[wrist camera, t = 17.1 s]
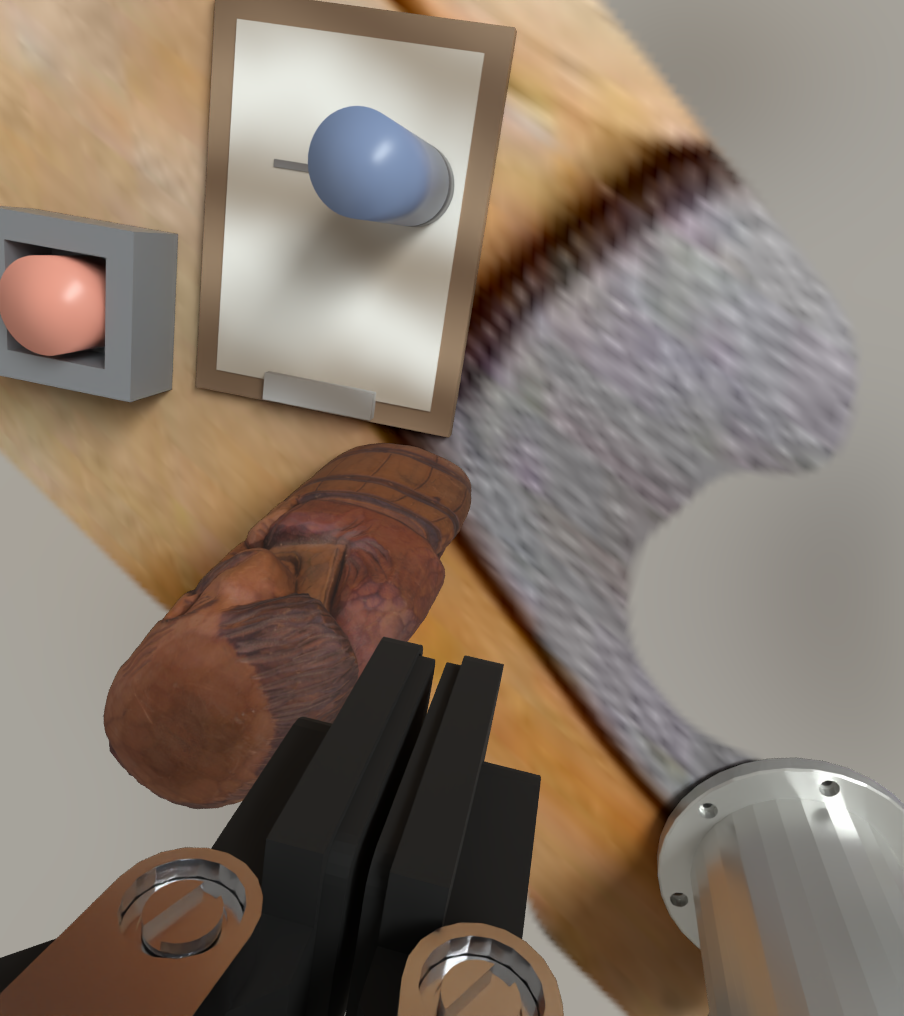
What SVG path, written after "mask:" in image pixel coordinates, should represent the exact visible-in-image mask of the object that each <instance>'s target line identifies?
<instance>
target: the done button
mask: <svg viewBox="0 0 904 1016" xmlns="http://www.w3.org/2000/svg"><path fill="white" fill-rule="evenodd" d="M105 302H106V260H104V259H102V258H99V257H96V256H89V255H32V256H25V257H22V258H19V259H17V260H16V261H14V262H13V263H11V264H10V265H9V266H8V267H7V269H6V270H5V272H4V273H3V275H2V277H1V279H0V314H1V317H2V319H3V322H4V324H5V326H6V328H7V329H8V331H9V332H10V334H11V335H12V336H13V337H14V338H15V340H16V341H18V342H19V343H20V344H21V345H22V346H24V347H25V348H27V349H28V350H30V351H32V352H34V353H37V354H41V355H46V356H54V355H60V354H66V353H71V352H77V351H82V350H88V349H93V348H99V347H104V346H105Z"/></svg>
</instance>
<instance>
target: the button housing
mask: <svg viewBox="0 0 904 1016" xmlns="http://www.w3.org/2000/svg"><path fill="white" fill-rule="evenodd" d="M177 247H178V234H175V233H169V232H164V231H158V230H152V229H146V228H141V227H135V226H129V225H124V224H118V223H112V222H107V221H101V220H95V219H90V218H84V217H78V216H73V215H67V214H61V213H56V212H50V211H44V210H39V209H31V208H19V207H7V206H0V279H1V277H2V275H3V273H4V272H5V270H6V269H7V267H8V266H9V265H10V264H11V263H13V262H14V261H16V260H17V259H19V258H22V257H25V256H32V255H89V256H96V257H99V258H102V259H104V260H106V302H105V346H104V347H99V348H93V349H88V350H82V351H77V352H71V353H66V354H60V355H54V356H46V355H41V354H37V353H34V352H32V351H30V350H28V349H27V348H25V347H24V346H22V345H21V344H20V343H19V342H18V341H16V340H15V338H14V337H13V336H12V335H11V334H10V332H9V331H8V329H7V328H6V326H5V324H4V322H3V319H2V317H1V314H0V376H5V377H10V378H15V379H19V380H24V381H29V382H34V383H39V384H44V385H49V386H54V387H58V388H63V389H68V390H73V391H78V392H83V393H88V394H93V395H97V396H102V397H107V398H112V399H117V400H122V401H127V402H132V401H135V400H139V399H142V398H145V397H148V396H152V395H155V394H158V393H161V392H165V391H168V390H171V389H172V372H173V347H174V322H175V297H176V272H177Z"/></svg>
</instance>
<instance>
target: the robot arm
mask: <svg viewBox="0 0 904 1016" xmlns="http://www.w3.org/2000/svg"><path fill="white" fill-rule="evenodd" d="M422 654H423V646H422V645H418V644H414V643H410V642H406V641H401V640H397V639H393V638H388V637H383V638H382V639H381V640H380V642H379V644H378V646H377V647H376V649H375V651H374V653H373V654H372V656H371V658H370V659H369V661H368V663H367V665H366V666H365V668H364V670H363V672H362V673H361V675H360V677H359V679H358V680H357V682H356V684H355V685H354V687H353V689H352V691H351V692H350V694H349V696H348V698H347V699H346V701H345V703H344V705H343V706H342V708H341V710H340V712H339V713H338V715H337V717H336V718H335V720H334V722H333V724H332V723H328V722H324V721H320V720H316V719H312V718H308V717H304V716H302V717H300V718H298V719H297V720H296V722H295V723H294V724H293V725H292V727H291V728H290V730H289V731H288V733H287V734H286V736H285V737H284V739H283V741H282V742H281V744H280V745H279V747H278V748H277V750H276V751H275V753H274V754H273V756H272V757H271V759H270V760H269V762H268V763H267V765H266V766H265V768H264V769H263V771H262V772H261V774H260V775H259V777H258V778H257V780H256V781H255V783H254V784H253V786H252V788H251V789H250V791H249V792H248V794H247V795H246V797H245V798H244V800H243V801H242V803H241V804H240V806H239V807H238V809H237V810H236V812H235V813H234V815H233V816H232V818H231V819H230V821H229V822H228V824H227V826H226V827H225V828H224V830H223V831H222V833H221V834H220V836H219V838H218V839H217V841H216V842H215V844H214V845H213V847H212V848H211V849H210V848H193V847H185V848H179V849H175V850H169V851H164V852H160V853H158V854H156V855H154V856H151V857H149V858H147V859H145V860H142V861H140V862H138V863H137V864H136V865H134V866H133V867H132V868H130V869H129V870H128V871H126V872H125V873H124V874H122V875H121V876H120V877H119V878H118V879H117V880H116V881H115V882H114V883H112V885H111V886H109V887H108V888H107V889H106V890H105V891H104V892H103V893H102V894H101V895H100V896H99V897H98V898H97V899H96V900H95V901H94V902H93V903H92V904H91V905H90V906H89V907H88V908H87V909H86V910H85V911H84V912H83V913H82V914H81V915H80V916H79V917H78V918H77V919H76V920H75V921H74V922H73V923H72V924H71V925H70V926H69V927H68V928H67V929H66V930H65V931H64V932H63V933H62V934H61V935H60V936H59V937H57V938H56V939H54V940H51V941H48V942H45V943H42V944H39V945H36V946H33V947H31V948H28V949H25V950H22V951H19V952H16V953H13V954H10V955H7V956H5V957H2V958H0V1016H344V1015H345V1012H346V1015H345V1016H564V1013H563V1004H562V999H561V996H560V992H559V988H558V985H557V981H556V978H555V977H554V975H553V974H552V972H551V970H550V969H549V967H548V965H547V964H546V962H545V960H544V959H543V958H542V957H541V956H540V955H539V954H538V953H537V952H536V951H535V950H534V949H533V948H532V947H531V946H530V945H529V944H528V943H527V942H526V941H524V940H522V935H523V927H524V918H525V910H526V902H527V893H528V885H529V876H530V868H531V859H532V850H533V842H534V833H535V825H536V816H537V808H538V799H539V791H540V781H541V777H540V775H536V774H532V773H528V772H524V771H520V770H516V769H512V768H508V767H504V766H500V765H496V764H492V763H488V762H484V759H485V754H486V749H487V745H488V740H489V735H490V730H491V725H492V720H493V715H494V711H495V706H496V701H497V696H498V691H499V686H500V681H501V677H502V672H503V666H504V664H500V663H495V662H491V661H487V660H482V659H478V658H474V657H470V656H464V658H463V661H462V664H461V665H457V664H453V663H448V662H447V663H446V665H445V668H444V671H443V673H442V676H441V679H440V681H439V684H438V686H437V689H436V692H435V694H434V697H433V699H432V702H431V705H430V707H429V710H428V713H427V709H428V704H429V698H430V692H431V686H432V680H433V675H434V668H435V659H431V658H427V657H423V656H422ZM657 868H658V880H659V885H660V891H661V896H662V898H663V901H664V903H665V905H666V908H667V910H668V913H669V915H670V916H671V918H672V919H673V920H674V922H675V923H676V925H677V926H678V928H679V929H680V930H681V932H682V933H683V934H684V935H685V936H686V937H687V938H688V939H689V940H690V941H691V942H692V943H693V944H694V945H695V946H696V947H697V948H699V949H700V950H701V956H702V963H703V970H704V977H705V984H706V991H707V998H708V1005H709V1014H708V1016H904V804H903V803H902V802H901V801H900V800H899V799H898V798H897V797H896V796H895V795H894V794H893V793H892V792H890V791H889V790H887V789H886V788H885V787H883V786H882V785H880V784H879V783H878V782H876V781H875V780H873V779H871V778H869V777H867V776H865V775H862V774H860V773H858V772H856V771H854V770H852V769H849V768H846V767H843V766H839V765H836V764H832V763H829V762H825V761H820V760H811V759H803V758H775V759H765V760H759V761H754V762H749V763H744V764H741V765H738V766H735V767H733V768H730V769H727V770H725V771H722V772H719V773H718V774H716V775H714V776H712V777H711V778H709V779H707V780H706V781H704V782H702V783H701V784H699V785H697V786H696V787H695V788H694V789H693V790H692V791H691V792H690V793H688V794H687V795H686V796H685V797H684V798H683V799H682V800H681V801H680V802H679V804H678V805H677V806H676V808H675V809H674V810H673V812H672V813H671V814H670V816H669V817H668V819H667V821H666V824H665V826H664V828H663V831H662V833H661V835H660V840H659V846H658V851H657Z"/></svg>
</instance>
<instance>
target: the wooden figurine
mask: <svg viewBox="0 0 904 1016" xmlns="http://www.w3.org/2000/svg"><path fill="white" fill-rule="evenodd" d="M470 505H471V484H470V480H469V479H468V477H467V475H466V474H465V472H464V471H463V470H462V469H461V468H460V467H458V466H457V465H455V464H453V463H452V462H450V461H448V460H446V459H444V458H442V457H440V456H437V455H435V454H433V453H430V452H428V451H425V450H423V449H421V448H418V447H414V446H408V445H399V444H391V443H378V444H369V445H364V446H359V447H355V448H353V449H351V450H349V451H347V452H344V453H342V454H341V455H339V456H337V457H336V458H334V459H333V460H332V461H330V462H329V463H328V464H327V465H325V466H324V467H323V468H322V469H320V470H319V471H318V472H317V473H316V474H315V475H314V476H313V477H312V478H311V479H309V480H308V481H307V482H305V483H304V484H302V485H301V486H300V487H299V488H298V489H297V490H295V491H294V492H293V493H292V494H291V495H290V496H289V497H288V498H286V499H285V500H284V501H283V502H281V503H280V504H278V505H277V507H275V508H274V509H272V510H271V511H270V512H269V513H268V515H267V516H266V517H264V518H263V519H261V520H260V521H259V522H258V523H257V524H256V525H255V526H254V527H253V528H251V530H250V531H249V532H248V536H247V539H246V540H245V541H244V542H242V543H240V544H239V545H238V546H236V547H235V548H234V549H233V550H231V551H230V552H229V553H228V554H227V555H226V556H225V557H224V558H223V559H222V560H221V561H220V562H219V563H218V564H217V565H216V566H215V567H214V568H212V569H211V570H210V571H209V572H208V573H207V574H206V575H205V576H204V577H203V578H202V579H201V580H200V582H199V584H198V585H197V587H196V589H194V590H192V591H189V592H187V593H185V594H184V595H183V596H182V597H181V598H180V599H179V600H178V601H177V602H176V603H175V605H174V606H173V607H172V608H171V610H170V611H169V612H168V613H167V614H166V616H165V617H164V618H163V619H162V620H160V621H158V622H157V623H156V625H155V626H154V627H153V628H152V629H151V630H150V632H149V633H148V634H147V636H146V637H145V638H144V640H143V641H142V642H141V644H140V645H139V646H138V647H137V648H136V650H135V651H134V652H133V654H132V655H131V657H130V658H129V659H128V660H127V661H126V662H125V663H124V664H123V665H122V666H121V667H120V669H119V671H118V672H117V674H116V676H115V679H114V680H113V683H112V685H111V687H110V689H109V692H108V696H107V700H106V705H105V711H104V727H105V733H106V735H107V737H108V739H109V747H110V752H111V753H112V754H113V756H114V757H115V758H116V759H117V761H118V762H119V763H120V765H121V766H122V767H123V768H125V769H126V770H127V772H128V773H129V775H131V776H133V777H134V778H135V779H136V780H137V781H138V782H139V783H140V784H141V785H143V786H145V787H146V788H148V789H149V790H151V791H152V792H153V793H154V794H156V795H158V796H159V797H160V798H163V799H166V800H168V801H170V802H172V803H175V804H178V805H183V806H187V807H189V808H193V809H203V808H204V809H208V808H219V807H223V806H225V805H230V804H235V803H238V802H241V801H243V800H244V798H245V797H246V795H247V794H248V792H249V791H250V789H251V788H252V786H253V784H254V783H255V781H256V780H257V778H258V777H259V775H260V774H261V772H262V771H263V769H264V768H265V766H266V765H267V763H268V762H269V760H270V759H271V757H272V756H273V754H274V753H275V751H276V750H277V748H278V747H279V745H280V744H281V742H282V741H283V739H284V737H285V736H286V734H287V733H288V731H289V730H290V728H291V727H292V725H293V724H294V723H295V722H296V720H297V719H298V718H300V717H302V716H304V717H308V718H312V719H316V720H320V721H324V722H328V723H332V724H333V722H334V720H335V718H336V717H337V715H338V713H339V712H340V710H341V708H342V706H343V705H344V703H345V701H346V699H347V698H348V696H349V694H350V692H351V691H352V689H353V687H354V685H355V684H356V682H357V680H358V679H359V677H360V675H361V673H362V672H363V670H364V668H365V666H366V665H367V663H368V661H369V659H370V658H371V656H372V654H373V653H374V651H375V649H376V647H377V646H378V644H379V642H380V640H381V639H382V638H383V637H388V638H393V639H397V640H401V641H406V642H407V641H408V640H409V639H410V638H411V636H412V635H413V634H414V633H415V631H416V630H417V628H418V627H419V626H420V624H421V623H422V622H423V621H424V619H425V618H426V616H427V614H428V612H429V610H430V608H431V606H432V604H433V603H434V601H435V599H436V597H437V595H438V593H439V591H440V589H441V587H442V585H443V583H444V578H445V569H444V567H443V565H442V562H441V561H440V557H441V556H442V554H443V552H444V550H445V548H446V547H447V546H448V545H449V544H450V542H451V541H452V540H453V539H454V538H455V536H456V534H457V533H458V532H459V531H460V529H461V527H462V525H463V522H464V520H465V518H466V517H467V514H468V512H469V509H470Z"/></svg>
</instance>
